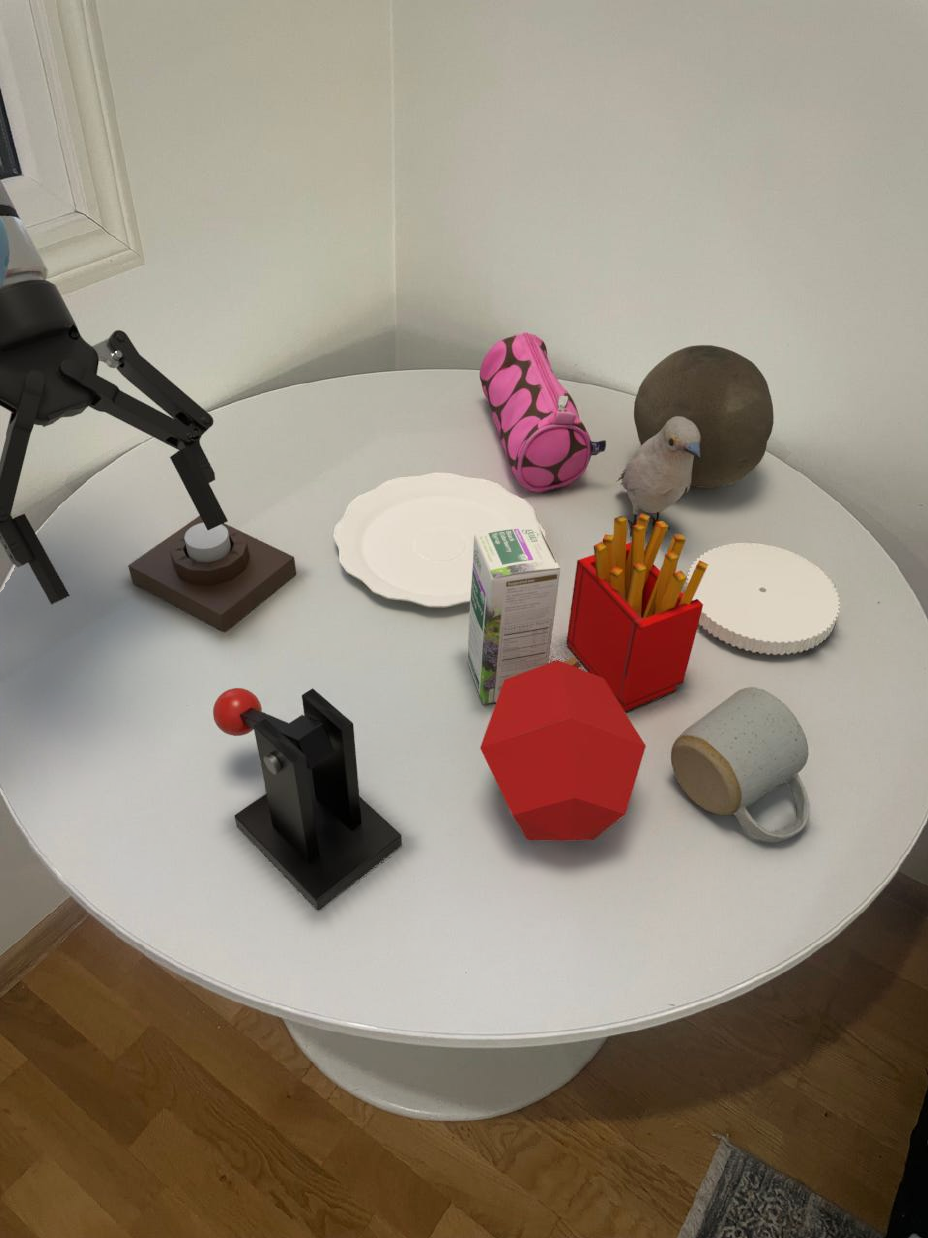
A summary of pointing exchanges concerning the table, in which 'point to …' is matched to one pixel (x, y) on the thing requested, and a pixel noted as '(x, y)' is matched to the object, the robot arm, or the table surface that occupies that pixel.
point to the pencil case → (535, 415)
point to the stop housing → (214, 576)
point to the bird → (662, 468)
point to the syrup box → (510, 606)
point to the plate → (424, 535)
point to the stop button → (207, 543)
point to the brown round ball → (710, 409)
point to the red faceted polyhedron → (562, 752)
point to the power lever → (244, 711)
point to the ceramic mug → (744, 759)
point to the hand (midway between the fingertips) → (143, 561)
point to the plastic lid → (765, 598)
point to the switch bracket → (315, 810)
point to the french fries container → (635, 613)
